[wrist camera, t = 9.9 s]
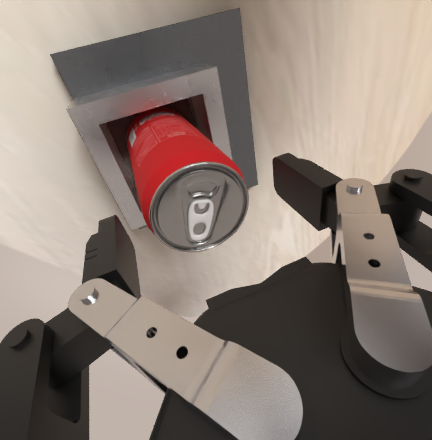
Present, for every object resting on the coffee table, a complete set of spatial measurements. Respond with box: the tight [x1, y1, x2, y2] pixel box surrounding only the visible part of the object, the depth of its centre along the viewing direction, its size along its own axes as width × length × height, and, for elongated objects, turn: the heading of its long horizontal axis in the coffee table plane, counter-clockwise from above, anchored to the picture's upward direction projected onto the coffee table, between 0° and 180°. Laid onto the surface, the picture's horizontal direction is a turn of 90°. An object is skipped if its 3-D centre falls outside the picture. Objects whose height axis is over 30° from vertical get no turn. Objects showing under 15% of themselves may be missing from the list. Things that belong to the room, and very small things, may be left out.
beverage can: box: [127, 107, 249, 252], centre depth 16 cm, size 5×5×12 cm
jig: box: [50, 8, 258, 230], centre depth 19 cm, size 12×14×4 cm
